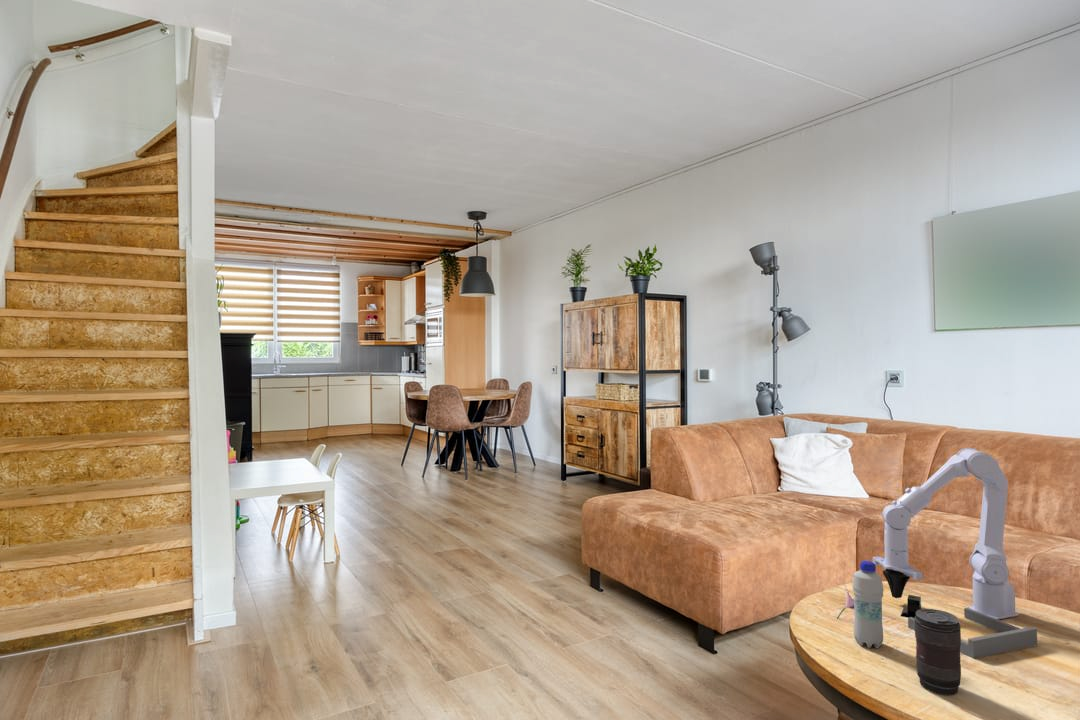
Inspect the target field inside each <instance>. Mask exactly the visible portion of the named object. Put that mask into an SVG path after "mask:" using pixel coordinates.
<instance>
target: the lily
mask: <svg viewBox="0 0 1080 720" xmlns="http://www.w3.org/2000/svg"><path fill="white" fill-rule="evenodd" d="M839 580H840V581H841V582H842V585H844V587H845V588H844V590H845V591H846V603H845V606H844V608H843V609H842V610H841V611H840V612H839V614H838V616H837V617H836V619H837V620H838V619H839V618H840V616H841V615H842V613H843V612H844V611H845V610H846V609H847V608H848V609H850V610H853V611H854V598H853V597H852V596H851V595H850V592H849V590H848V588H847V585H846V584H845V582H843V580H842V579H841V578H839Z"/></svg>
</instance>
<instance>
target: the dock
mask: <svg viewBox="0 0 1080 720" xmlns="http://www.w3.org/2000/svg"><path fill="white" fill-rule="evenodd" d="M963 609H964V611H963V614H964V619H967V620H969V621H972V622H974V623H977V624H979V625H981V626H984V627H987V628H988V629H991V630H993V631H996V632H997V633H992V634H986V635H982V636H976V637H971V638H968V641H966V640H963V639H961V646H960V654H963V655H965V656H968V657H969V658H971V659H978V658H983V657H987V656H993V655H998V654H1002V653H1008V652H1013V651H1016V650H1022V649H1028V648H1031V647H1033V648H1034V647H1036V646H1038V628H1036V627H1033V626H1028V627H1022V628H1020V627H1018V626H1016V625H1013V624H1010V623H1007V622H1005V621H1004V620H1001V619H995V618H993V617H990V616H988V615H985V614H983V613H980V612H978V611H975V610H973V609H970V608H965V607H964V608H963ZM907 627H908V628H909V629H910V630H913V631H914V632H915V618H912V617H909V618H907Z"/></svg>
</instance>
